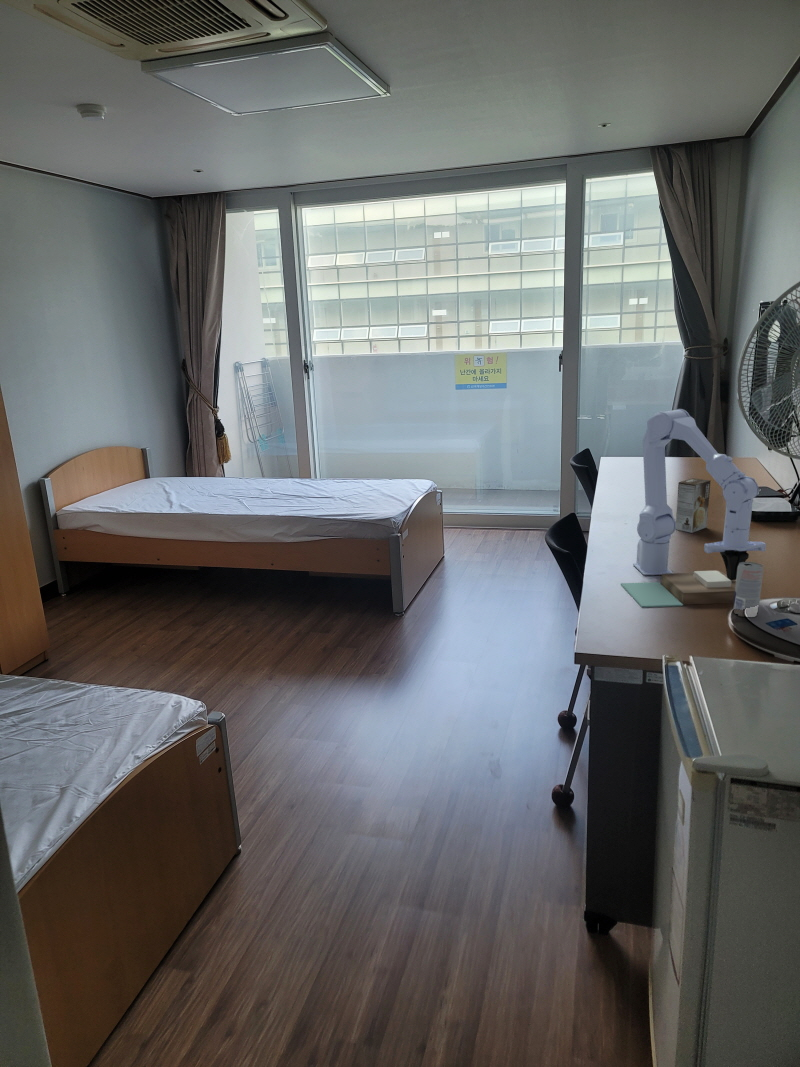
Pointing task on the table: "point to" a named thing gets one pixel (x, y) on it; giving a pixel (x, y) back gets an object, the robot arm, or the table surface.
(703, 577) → the cream tile
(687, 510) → the coffee box
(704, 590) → the block
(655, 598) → the teal mat
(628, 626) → the table surface
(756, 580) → the energy drink
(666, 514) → the robot arm
